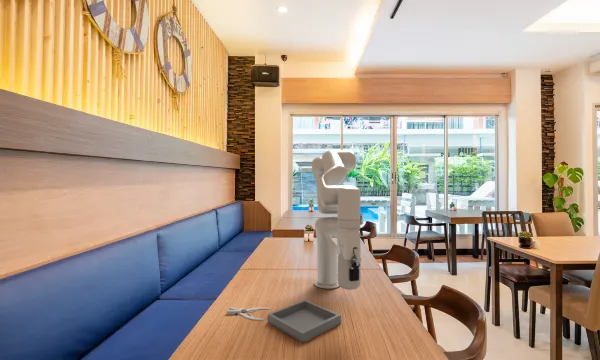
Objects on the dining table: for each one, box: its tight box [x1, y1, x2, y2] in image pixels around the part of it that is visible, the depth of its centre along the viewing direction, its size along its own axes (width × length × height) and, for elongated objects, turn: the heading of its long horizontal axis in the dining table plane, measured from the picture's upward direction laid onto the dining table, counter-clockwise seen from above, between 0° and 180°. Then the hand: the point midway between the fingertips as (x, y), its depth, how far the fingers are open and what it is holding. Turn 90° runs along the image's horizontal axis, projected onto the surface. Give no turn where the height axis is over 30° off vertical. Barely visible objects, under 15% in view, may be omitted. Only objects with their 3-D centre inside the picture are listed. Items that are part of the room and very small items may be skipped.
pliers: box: [226, 306, 271, 321], centre depth 114 cm, size 10×2×15 cm
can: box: [337, 252, 362, 291], centre depth 102 cm, size 8×8×12 cm
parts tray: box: [267, 299, 342, 344], centre depth 106 cm, size 18×18×3 cm
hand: (349, 276), depth 102 cm, fingers closed on can, 7 cm apart
